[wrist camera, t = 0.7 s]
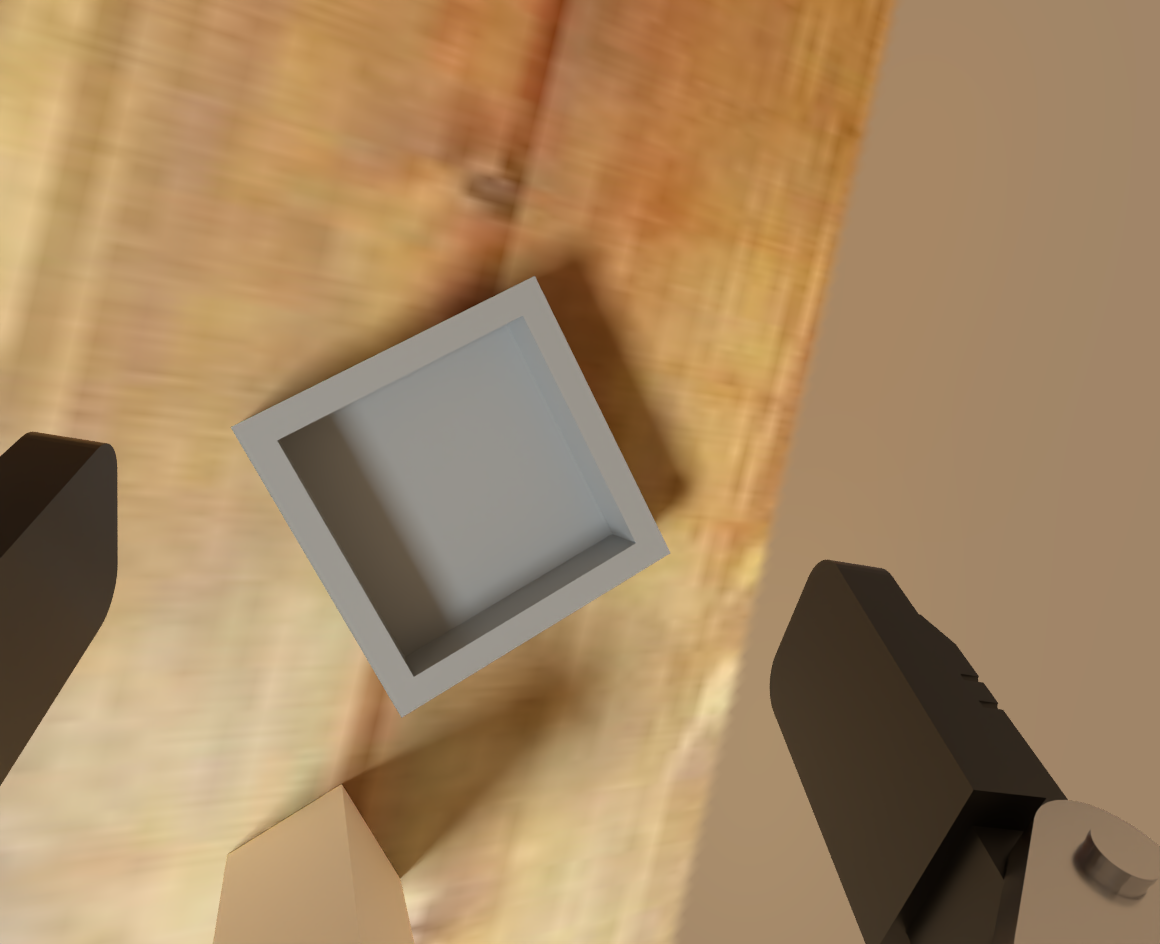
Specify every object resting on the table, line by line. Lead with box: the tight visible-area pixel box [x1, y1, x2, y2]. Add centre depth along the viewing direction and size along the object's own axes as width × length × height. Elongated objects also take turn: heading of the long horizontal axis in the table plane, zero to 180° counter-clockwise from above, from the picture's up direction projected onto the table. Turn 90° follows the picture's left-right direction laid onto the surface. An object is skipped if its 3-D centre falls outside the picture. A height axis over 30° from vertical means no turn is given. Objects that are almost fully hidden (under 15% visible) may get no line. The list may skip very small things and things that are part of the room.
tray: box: [231, 276, 670, 718], centre depth 31 cm, size 11×11×4 cm
